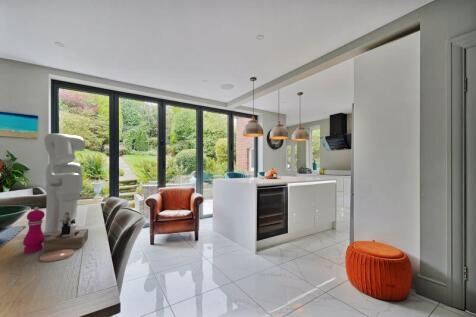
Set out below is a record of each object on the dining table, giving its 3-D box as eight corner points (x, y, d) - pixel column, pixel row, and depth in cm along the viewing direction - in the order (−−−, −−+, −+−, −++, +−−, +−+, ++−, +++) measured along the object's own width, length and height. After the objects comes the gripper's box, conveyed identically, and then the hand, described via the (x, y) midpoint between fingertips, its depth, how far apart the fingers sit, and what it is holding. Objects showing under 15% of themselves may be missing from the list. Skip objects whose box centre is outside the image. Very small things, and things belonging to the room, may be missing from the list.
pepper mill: (30, 254, 92) (33, 208, 93) (17, 252, 93) (21, 207, 95) (48, 248, 99) (50, 205, 100) (36, 246, 101) (39, 205, 102)
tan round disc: (45, 254, 92) (45, 251, 92) (76, 249, 97) (76, 247, 97) (35, 263, 82) (35, 261, 83) (70, 258, 87) (70, 256, 87)
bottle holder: (55, 241, 108) (55, 231, 108) (87, 237, 114) (88, 228, 115) (43, 252, 94) (44, 241, 94) (81, 247, 100) (81, 237, 100)
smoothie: (57, 247, 100) (59, 218, 101) (61, 243, 105) (63, 215, 106) (74, 245, 103) (75, 217, 104) (77, 241, 108) (78, 214, 109)
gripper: (66, 196, 111) (64, 228, 110) (55, 200, 96) (53, 237, 95) (83, 195, 115) (81, 226, 114) (75, 199, 99) (73, 235, 98)
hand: (68, 231), depth 104 cm, fingers open, 9 cm apart
